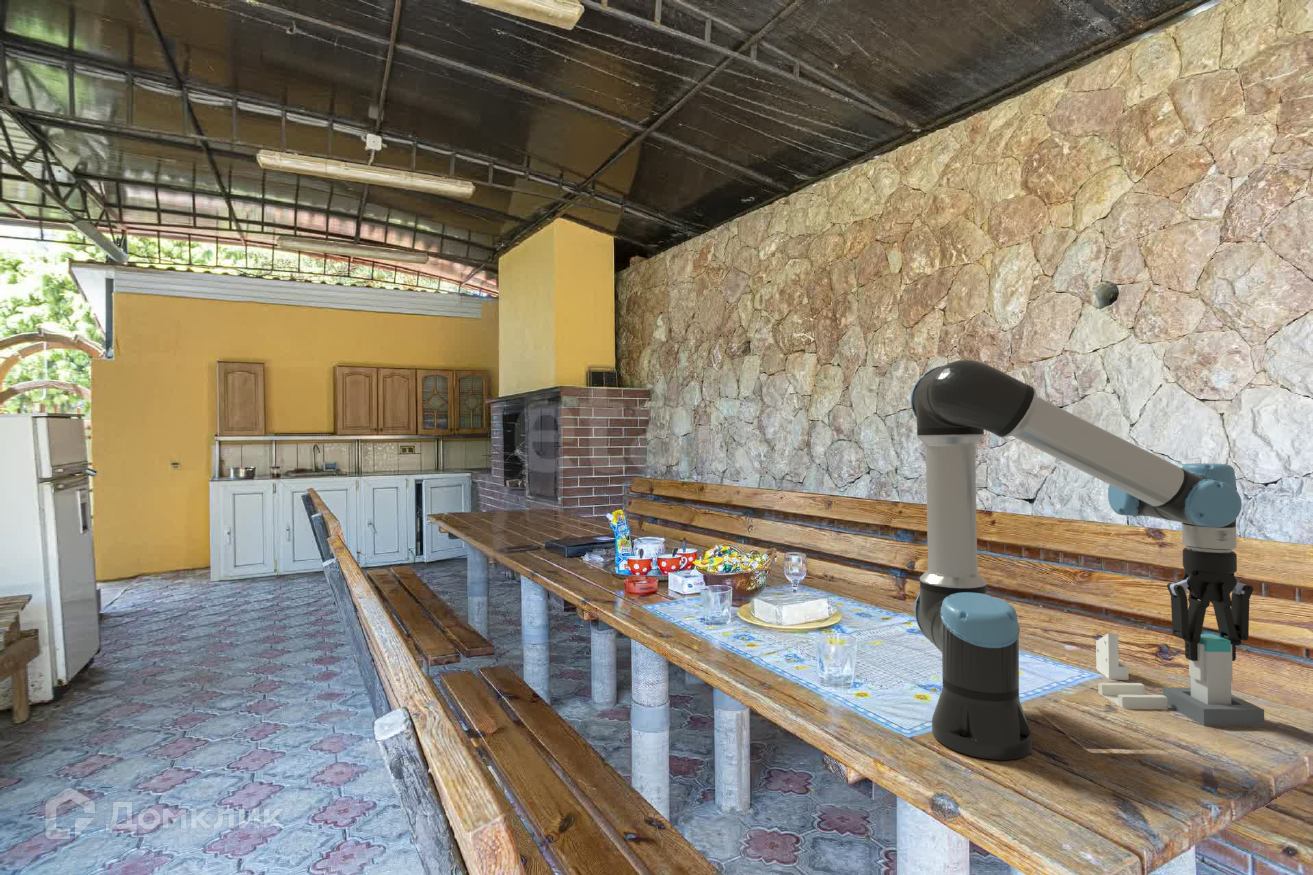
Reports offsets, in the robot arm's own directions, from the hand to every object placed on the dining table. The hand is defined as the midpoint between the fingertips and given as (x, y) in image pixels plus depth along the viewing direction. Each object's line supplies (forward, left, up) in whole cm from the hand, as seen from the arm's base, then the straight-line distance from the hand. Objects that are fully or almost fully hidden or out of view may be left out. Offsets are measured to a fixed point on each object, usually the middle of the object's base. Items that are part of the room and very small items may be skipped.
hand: (1210, 677), depth 119 cm
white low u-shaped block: (-10, +6, -7) cm, 14 cm away
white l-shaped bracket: (-5, +20, -7) cm, 22 cm away
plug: (0, 0, -7) cm, 7 cm away
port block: (0, 0, -7) cm, 7 cm away
